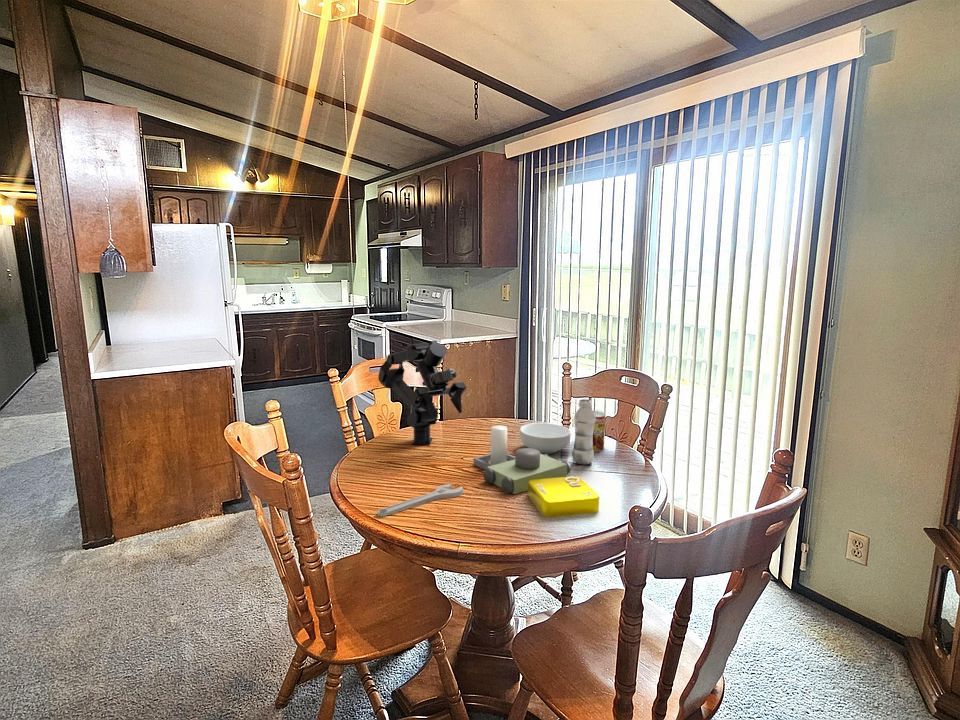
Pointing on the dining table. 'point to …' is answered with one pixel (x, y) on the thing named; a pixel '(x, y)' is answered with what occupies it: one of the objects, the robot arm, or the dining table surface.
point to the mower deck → (521, 469)
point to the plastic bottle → (584, 433)
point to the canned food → (599, 431)
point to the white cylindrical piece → (498, 445)
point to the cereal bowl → (545, 437)
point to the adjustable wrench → (422, 499)
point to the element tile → (563, 496)
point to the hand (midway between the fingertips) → (449, 414)
